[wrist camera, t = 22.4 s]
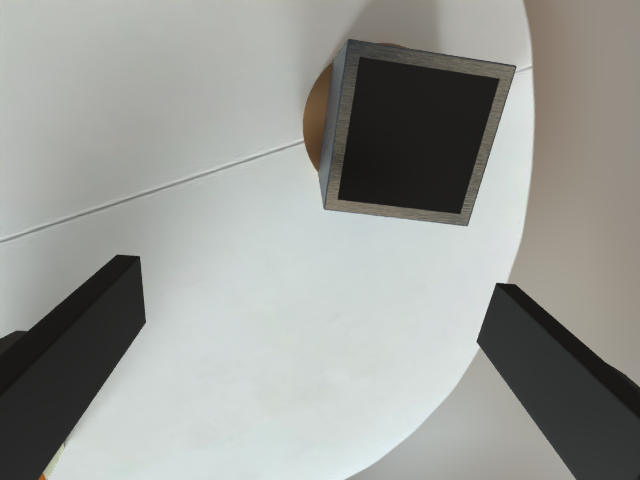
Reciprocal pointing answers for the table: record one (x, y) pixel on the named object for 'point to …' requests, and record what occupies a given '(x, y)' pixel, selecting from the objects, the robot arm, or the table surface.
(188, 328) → the table surface
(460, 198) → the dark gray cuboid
